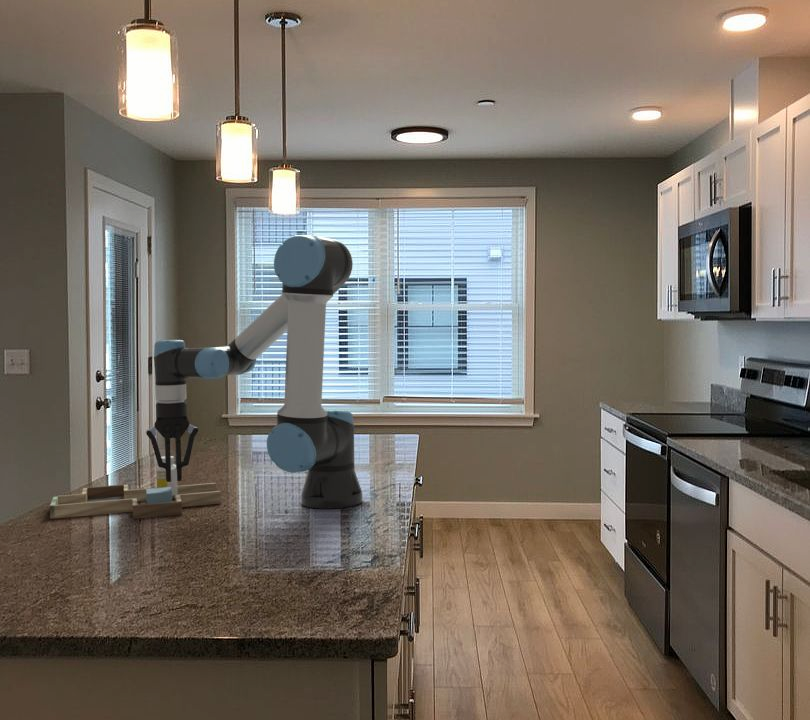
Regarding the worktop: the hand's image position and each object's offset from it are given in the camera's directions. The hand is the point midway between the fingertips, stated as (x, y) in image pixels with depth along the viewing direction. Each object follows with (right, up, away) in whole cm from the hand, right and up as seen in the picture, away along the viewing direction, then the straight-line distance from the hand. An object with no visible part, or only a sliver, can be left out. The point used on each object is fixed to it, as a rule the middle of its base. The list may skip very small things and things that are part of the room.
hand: (174, 494), depth 210 cm
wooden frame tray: (-8, -2, -3) cm, 9 cm away
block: (-3, -2, -1) cm, 4 cm away
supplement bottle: (-5, -2, +11) cm, 12 cm away
